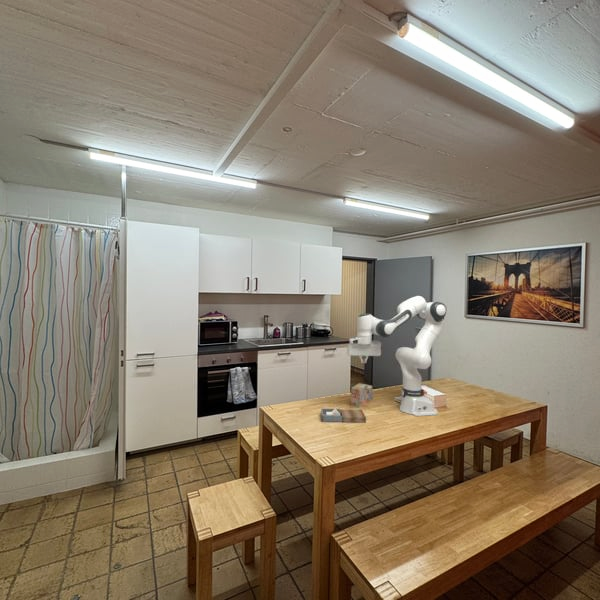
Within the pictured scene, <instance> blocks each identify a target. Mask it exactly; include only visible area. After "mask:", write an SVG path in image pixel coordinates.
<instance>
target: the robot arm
mask: <svg viewBox="0 0 600 600" xmlns="http://www.w3.org/2000/svg"><path fill="white" fill-rule="evenodd" d="M396 312H397V315H395V316H393V318H391V319H386V320H385V319H381V318H380V319H379V318H377V317H374V316H373V315H372V314H371V313H361V314H360V315H358V317H357V323H356V329H357V333H356V336H355V337H351V338H349V339H348V341H349V343H348V344H347V348H346V354H347V355H348V356H351V357H352V356H353V357H354V356H355V357H357V356H358V357H359V359H360V363H361V364H367V361H368V358H369V357H380V356H381V354H382V350H381V348H382V342H381V341H380V340H372V339H373V337H372V335H377V336H379V337H382V338H390V337H391V336H392V335H393V334H394V333H395V332H396V330H397V329H398V328H400V327H402V326H403V325H404V324H405V323H407V322H409V320H411V319H412V318H413V317H415V316H417V318H419V319H422V320H425V322H424V325H423V326H422V327H421V329H420V330H419V332H418V333H417V334H416V336H415V337H414V341H415V343H416V344H415V347H413V348H412V347H407V346H402V347H399V348H397V349H396V352H395V359H396V360H397V361H398V363H399V365H400V370H401V373H402V387H401V402H400V406H399V410H400V411H401V412H403V413H405V414H407V415H411V416H415V417H422V416H437V415H439V411H438V410H437V409H436V407H435V406H434V403H433V401H432V400H431V399H430V398H428V397H427V396H426V395H427V394H428V391H427V390H425V389H424V388H422V381H423V380H422V375H421V374H420V372H419V371H418V370H427V369H428V368H430V366H431V365H432V358H431V350H432V347H433V346H434V344H435V343H436V341H437V340H438V338H439V336H440V334H441V333H442V330H443V328H444V324H443V322H442V321H443V320H445V317H446V315H447V312H448V311H447V307H446V305H445V304H444V303H443V302H439V301H430V302H427V301H426V299H425V298H424V297H423V296H420V295H416V296H412V297H409V298H408V299H406V300H404V301H402V302H401V303H399V305H398V306H397V308H396ZM363 356H364V357H365V358H364V359H362V358H363Z"/></svg>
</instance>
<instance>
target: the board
mask: <svg viewBox="0 0 600 600" xmlns="http://www.w3.org/2000/svg"><path fill="white" fill-rule="evenodd" d="M339 409H340V416H342V423H343V424H344V423H345V424H366V423H367V417H366V416H365V413H364V412H363V410H362V409H341V408H339Z"/></svg>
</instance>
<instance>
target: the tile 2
mask: <svg viewBox="0 0 600 600" xmlns="http://www.w3.org/2000/svg"><path fill="white" fill-rule="evenodd" d="M333 409H334V410H333V411H332V413H333V415H334V416H341V415H340V413H339V412H338V411H337V410H336V409H337V408H333Z"/></svg>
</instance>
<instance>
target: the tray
mask: <svg viewBox="0 0 600 600" xmlns="http://www.w3.org/2000/svg"><path fill="white" fill-rule="evenodd" d="M320 409H321V411H320V415H321V420H322V421H321V422H322V423H343V421H342V416H341V415H340V416H334V415H333V416H326V412H332V411H333V410H334V409H336V410H337V411H338V412H339V413H340V409H341V408H320Z"/></svg>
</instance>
